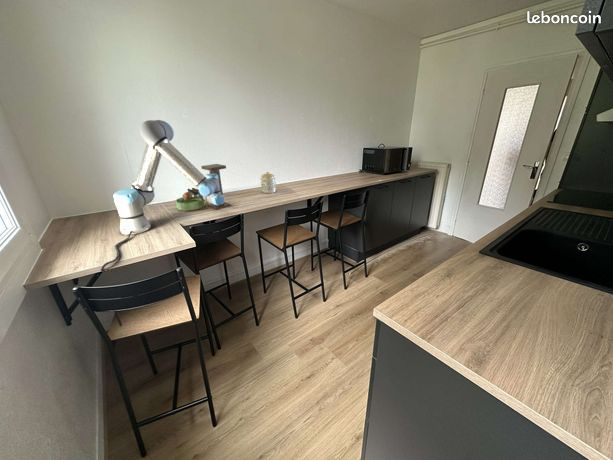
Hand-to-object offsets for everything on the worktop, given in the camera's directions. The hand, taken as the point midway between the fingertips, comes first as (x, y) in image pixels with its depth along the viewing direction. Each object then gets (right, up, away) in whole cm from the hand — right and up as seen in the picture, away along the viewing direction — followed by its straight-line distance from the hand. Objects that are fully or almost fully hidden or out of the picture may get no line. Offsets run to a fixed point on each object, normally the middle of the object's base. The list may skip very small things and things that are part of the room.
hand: (190, 190), depth 180 cm
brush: (0, -4, +1) cm, 4 cm away
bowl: (-3, -11, +8) cm, 14 cm away
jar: (+50, +6, +46) cm, 68 cm away
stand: (+18, -11, +9) cm, 23 cm away
